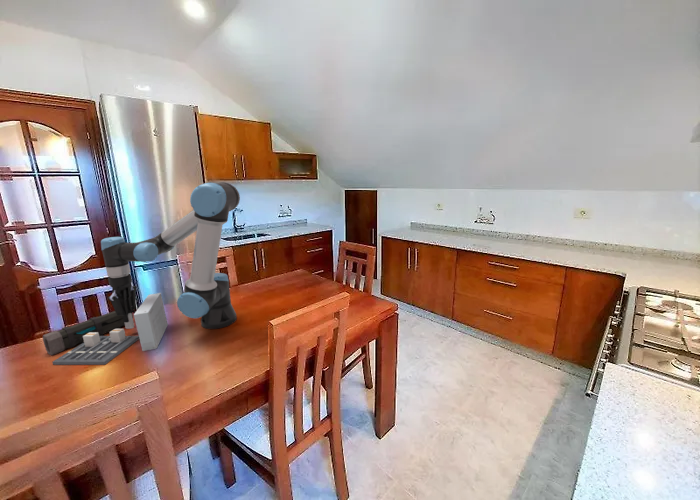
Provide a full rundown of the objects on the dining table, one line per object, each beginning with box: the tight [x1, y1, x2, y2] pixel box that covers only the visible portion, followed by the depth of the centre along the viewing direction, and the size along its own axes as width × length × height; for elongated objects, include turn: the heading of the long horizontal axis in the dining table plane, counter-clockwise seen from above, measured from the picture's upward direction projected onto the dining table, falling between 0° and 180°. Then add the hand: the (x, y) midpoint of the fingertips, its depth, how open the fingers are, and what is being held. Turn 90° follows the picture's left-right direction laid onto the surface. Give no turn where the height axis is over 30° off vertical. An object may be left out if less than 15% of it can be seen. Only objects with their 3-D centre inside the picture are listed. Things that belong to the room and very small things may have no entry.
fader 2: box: [108, 328, 127, 343], centre depth 120 cm, size 4×3×5 cm
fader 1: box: [83, 332, 100, 347], centre depth 117 cm, size 4×3×5 cm
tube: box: [42, 310, 125, 356], centre depth 126 cm, size 11×7×30 cm
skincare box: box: [133, 292, 169, 352], centre depth 124 cm, size 21×5×16 cm, turn 20°
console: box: [52, 335, 140, 366], centre depth 116 cm, size 19×18×2 cm
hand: (130, 327), depth 127 cm, fingers closed
